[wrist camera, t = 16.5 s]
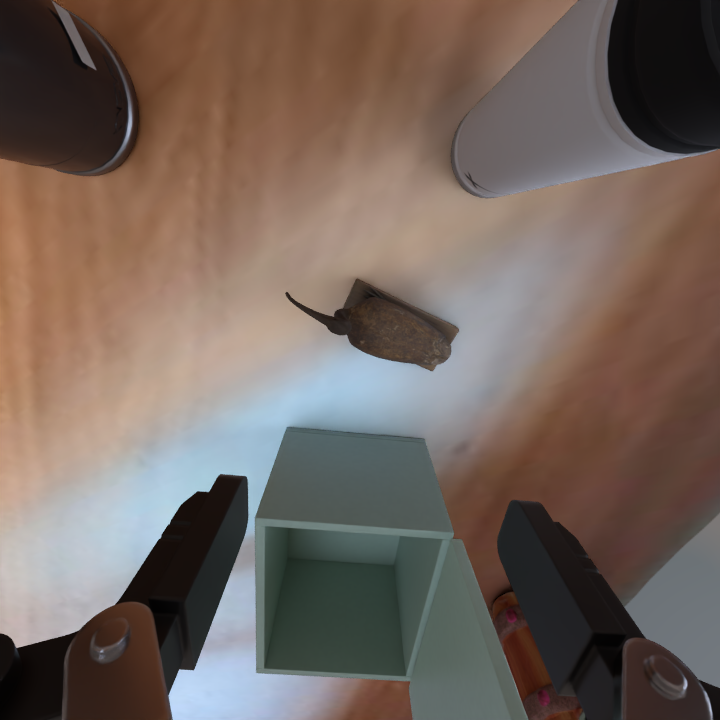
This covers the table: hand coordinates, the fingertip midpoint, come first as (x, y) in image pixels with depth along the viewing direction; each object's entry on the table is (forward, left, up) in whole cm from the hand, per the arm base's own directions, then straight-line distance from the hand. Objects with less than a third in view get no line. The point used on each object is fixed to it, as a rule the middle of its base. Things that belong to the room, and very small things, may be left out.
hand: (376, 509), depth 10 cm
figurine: (+1, +1, -21) cm, 21 cm away
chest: (0, -20, -21) cm, 29 cm away
